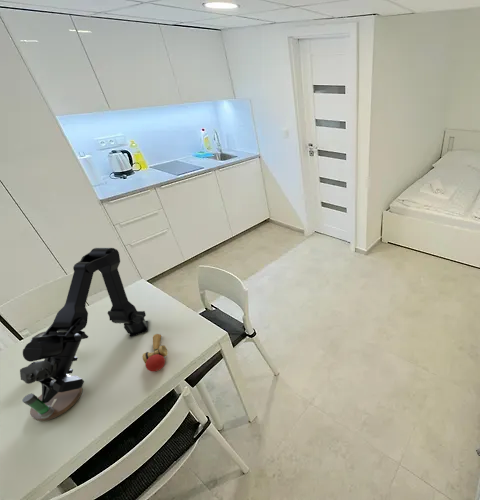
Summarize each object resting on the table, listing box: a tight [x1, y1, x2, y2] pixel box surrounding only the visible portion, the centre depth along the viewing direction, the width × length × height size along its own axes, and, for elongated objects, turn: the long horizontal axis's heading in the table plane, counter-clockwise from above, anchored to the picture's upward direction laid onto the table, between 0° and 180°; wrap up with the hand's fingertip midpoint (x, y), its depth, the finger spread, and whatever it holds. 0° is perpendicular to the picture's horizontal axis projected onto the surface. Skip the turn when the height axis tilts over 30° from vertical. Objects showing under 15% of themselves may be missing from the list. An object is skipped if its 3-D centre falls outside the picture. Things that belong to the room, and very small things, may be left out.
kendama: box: [141, 333, 169, 373], centre depth 111 cm, size 8×6×18 cm
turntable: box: [21, 387, 83, 422], centre depth 94 cm, size 13×13×11 cm
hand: (45, 402), depth 90 cm, fingers closed, pressing on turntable
